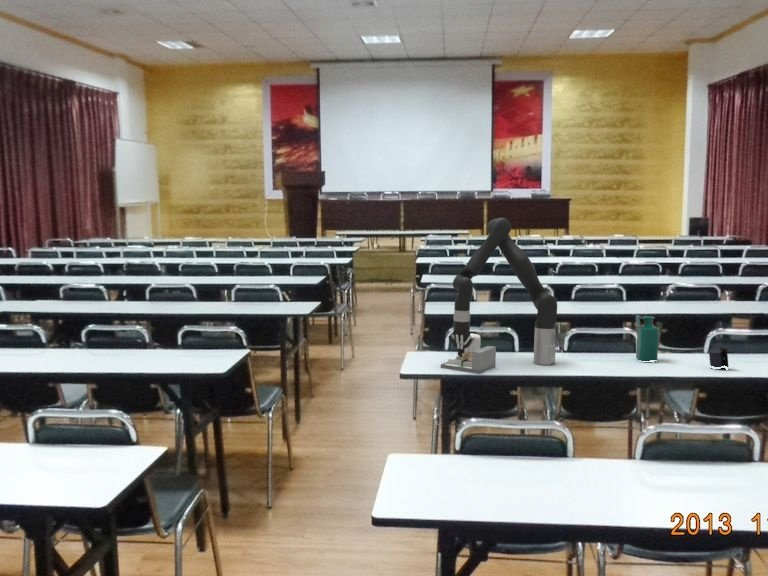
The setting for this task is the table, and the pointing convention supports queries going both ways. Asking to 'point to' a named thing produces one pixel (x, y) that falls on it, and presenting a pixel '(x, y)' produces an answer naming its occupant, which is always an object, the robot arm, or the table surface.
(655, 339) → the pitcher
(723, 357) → the speaker
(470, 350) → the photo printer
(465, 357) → the gauge carriage
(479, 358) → the base
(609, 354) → the table surface
